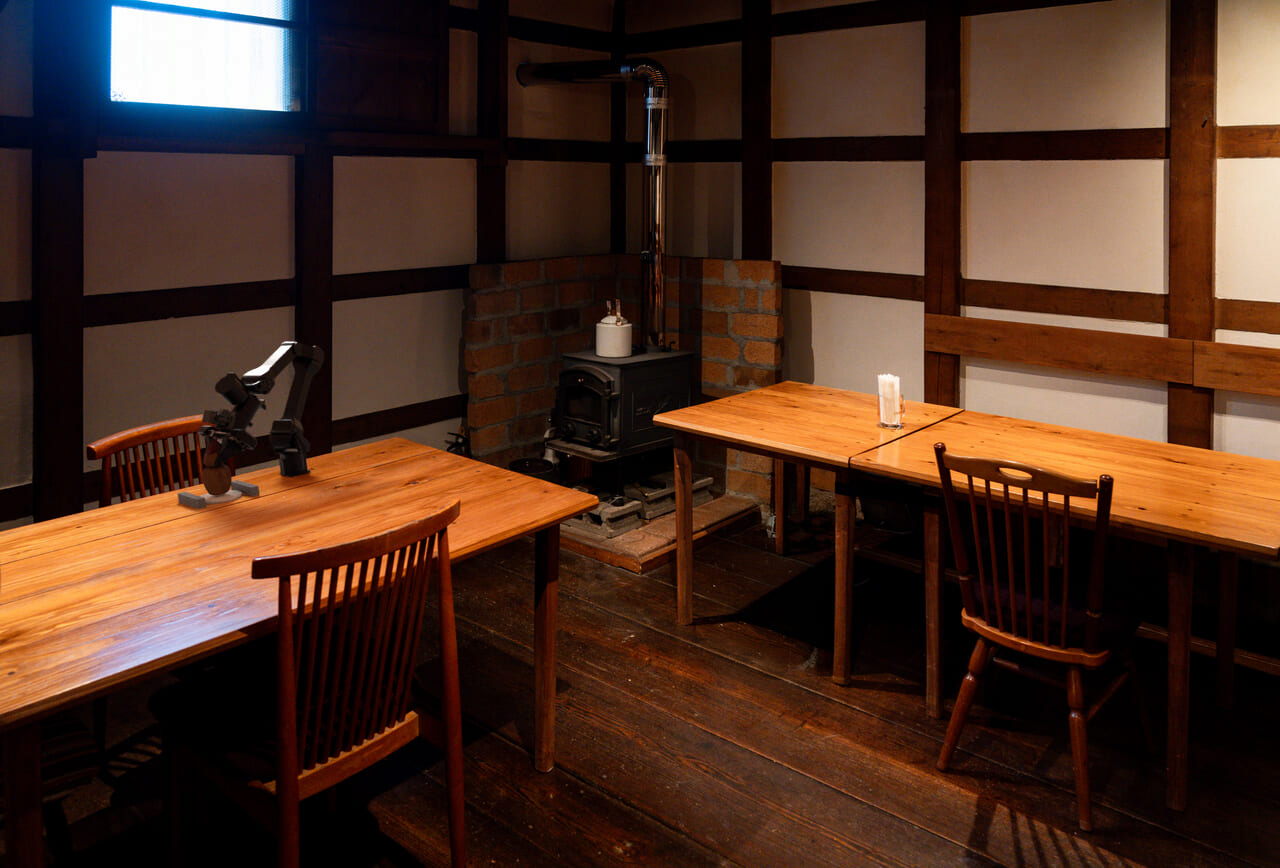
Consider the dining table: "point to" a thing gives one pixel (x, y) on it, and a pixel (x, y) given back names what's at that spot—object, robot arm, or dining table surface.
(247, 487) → the twin grey foam blocks
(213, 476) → the wooden figurine
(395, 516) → the dining table surface
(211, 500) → the coaster
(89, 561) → the dining table surface
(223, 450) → the robot arm
